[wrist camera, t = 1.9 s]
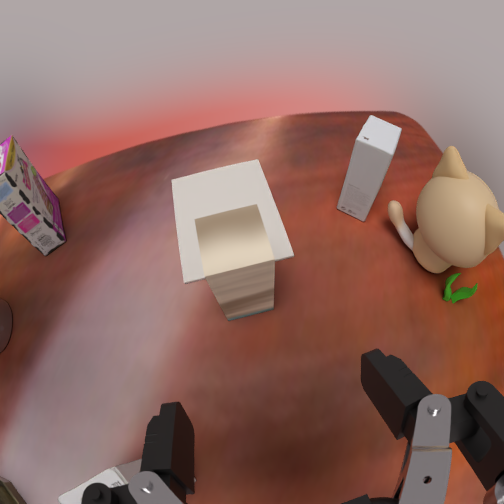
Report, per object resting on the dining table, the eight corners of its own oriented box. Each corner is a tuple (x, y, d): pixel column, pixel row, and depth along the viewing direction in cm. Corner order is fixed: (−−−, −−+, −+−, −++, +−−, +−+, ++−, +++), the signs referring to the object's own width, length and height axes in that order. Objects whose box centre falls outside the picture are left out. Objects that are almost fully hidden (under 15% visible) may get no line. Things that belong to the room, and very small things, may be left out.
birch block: (273, 309, 30) (274, 259, 20) (228, 320, 30) (204, 276, 20) (261, 268, 33) (256, 204, 22) (218, 279, 32) (194, 219, 22)
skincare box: (364, 223, 35) (393, 156, 24) (335, 209, 36) (354, 139, 26) (377, 193, 37) (403, 128, 27) (350, 180, 38) (369, 113, 28)
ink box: (144, 509, 19) (91, 545, 9) (116, 476, 21) (53, 498, 11) (198, 479, 22) (159, 519, 11) (167, 444, 24) (112, 465, 13)
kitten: (478, 288, 29) (547, 230, 16) (433, 323, 28) (514, 268, 15) (423, 203, 36) (466, 126, 23) (374, 223, 35) (414, 135, 22)
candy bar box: (68, 240, 37) (4, 170, 22) (45, 257, 36) (-21, 195, 21) (60, 197, 41) (12, 132, 27) (39, 212, 40) (-11, 152, 26)
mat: (293, 256, 33) (294, 255, 33) (185, 283, 32) (184, 282, 32) (257, 161, 41) (257, 159, 41) (172, 181, 40) (171, 180, 40)
